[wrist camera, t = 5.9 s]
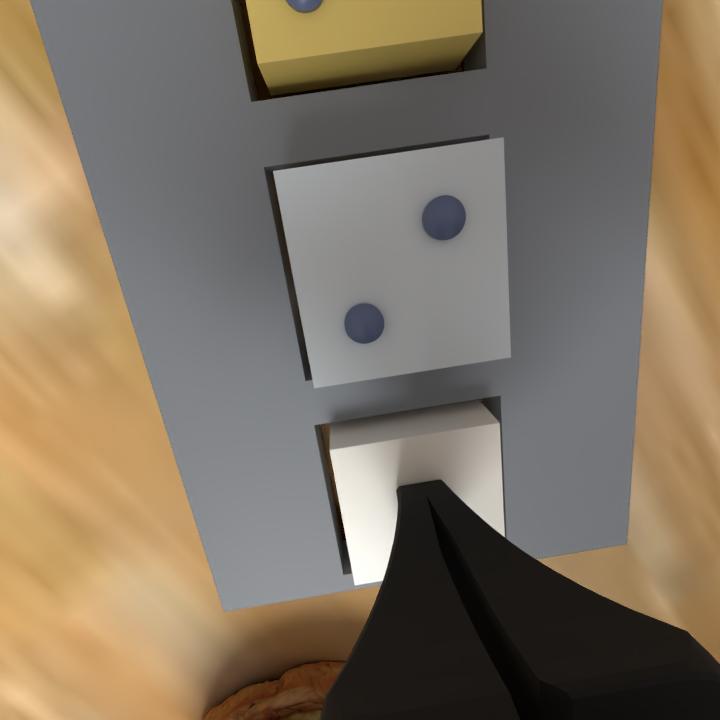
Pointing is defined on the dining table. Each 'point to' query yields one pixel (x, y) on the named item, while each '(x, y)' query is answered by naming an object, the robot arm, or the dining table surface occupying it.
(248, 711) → the burger
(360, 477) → the tile one
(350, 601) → the dining table surface
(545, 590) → the robot arm
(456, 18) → the tile three
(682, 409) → the dining table surface
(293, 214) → the tile two
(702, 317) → the dining table surface
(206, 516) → the board
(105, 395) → the dining table surface
